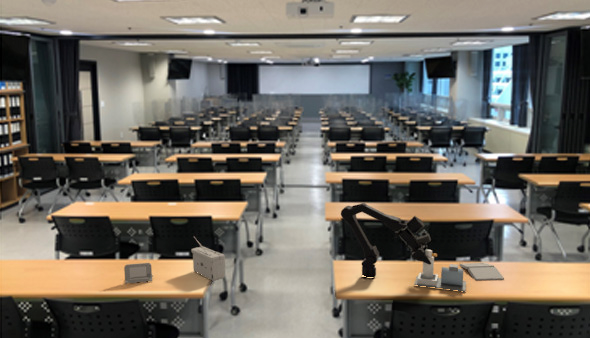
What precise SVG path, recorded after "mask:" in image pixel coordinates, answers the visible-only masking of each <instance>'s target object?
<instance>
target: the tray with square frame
mask: <svg viewBox="0 0 590 338" xmlns="http://www.w3.org/2000/svg"><path fill="white" fill-rule="evenodd" d="M422 273H423V272H419V273H418V275H417V276H416V279H415V281H414V284H413V286H414V285H418V286H426V287H435V288H443V289H450V290H458V291H463V292H462V293H464V292H465V291H466V292H467V290H466V289H467V281H466V280H464V268H459V264H453V263H449V267H444V266H442V267H441V271H440V273H441V275H440V277H439V274H436V273H433V276H431V277H428V276H424V275H423V274H422ZM466 292H465V293H466Z"/></svg>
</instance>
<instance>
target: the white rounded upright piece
mask: <svg viewBox="0 0 590 338" xmlns="http://www.w3.org/2000/svg"><path fill="white" fill-rule="evenodd" d="M425 254H426V256H427V257H428V259H429V260H430V262H431V264H430V265H429V264H427V263H425V262H422V272H421V273H422V274H423V275H424V276H428V277H431V276H433V274H434V269H435V267H434V265H435V264H434V263H435V257H436V258H437V257H438V253H433V250H431V249H427V250H425Z"/></svg>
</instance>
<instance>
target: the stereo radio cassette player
mask: <svg viewBox="0 0 590 338" xmlns="http://www.w3.org/2000/svg"><path fill="white" fill-rule="evenodd" d="M193 238H194V239H195V241H196V242H197V243H198V245H199V247H197V246H196V247H194V248H191V253H192V266H193V272H194V271H196V272H198V273H200V274H202V275H203V276H202V275H201V276H202V277H204V276H205V278H206V277H207V278H206V279H208V278H209V279H208V280H210V281H212V282H215V281H219V280H222V279H224V278H226V259H225V258H226V256H225V254H223V253H221V252H218V251H215V250H213V249H210V248H209V247H206V246H204V245H202V244H201V243H200V242H199V241H198V240H197V238H196V237H195V236H193ZM198 273H197V274H198ZM200 274H199V275H200Z"/></svg>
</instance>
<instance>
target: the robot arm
mask: <svg viewBox="0 0 590 338" xmlns="http://www.w3.org/2000/svg"><path fill="white" fill-rule="evenodd" d="M360 213H363V214H365V215H368V216H370V217H371V218H373V219H375V220H377V221H379V222H381V223H383V224H384V225H385V226H386V227H387V228H388V229H389V230H391V231H393V232H394V238H395V239H396V238H398V237H400V239H401V240H402V241H403V242H404V243H405V246H406V247H409V249H411V252H412V253H411V259H412V260H413V261H416V260H418V261H419V262H420V261H421V262H422V263H423V262H425V263H427V264H429V265H430V264H431V262H430V260H429V259H428V257H427V256H426V254H425V250H428V243H430V242H431V240H432V239H431V236H430V233H427V232H426V231H423V232H422V233H421V235H420V236H418V235H414V234H413V233H415V234H417V233H418V232H419V231H420V230H422V229H423V228H425V223H424V222H423V221H422V220H421V219H420V218H419V217H417V216H416V215H414V216H412V218H411V219H410V220H403V219H401V217H399V216H394V215H389V214H387V213H384V212H383V211H380V210H378V209H376V208H374V207H373V206H370V205H368V204H367V203H365V202H361V203H359V204H354V205H352V206H351V205H346V206H345V207H344V208H342V209H341V211H340V216H341V217H342V219H343V220H344V222H345V223H347V224H348V225H349V226H350V228H351V230H352V232H353V233H354V234H353V235H355V237H356V238H357V241H358V242H359V245H360V246H361V248H362V251H363V255H364V259H363V260H362V262H361V276H362V275H364V276H366V277H374V278H375V277H376V276H377V267H376V263H377V261H378V260H379V259H380V251H379V250H378V248H377V246H376V245H374V246H373V245H372V244H371V243H370V241H369V240H368V238H367V235H366V234H365V232H364V230H363V228H362V227H361V225H360V223H359V222H358V218H357V214H360Z"/></svg>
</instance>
